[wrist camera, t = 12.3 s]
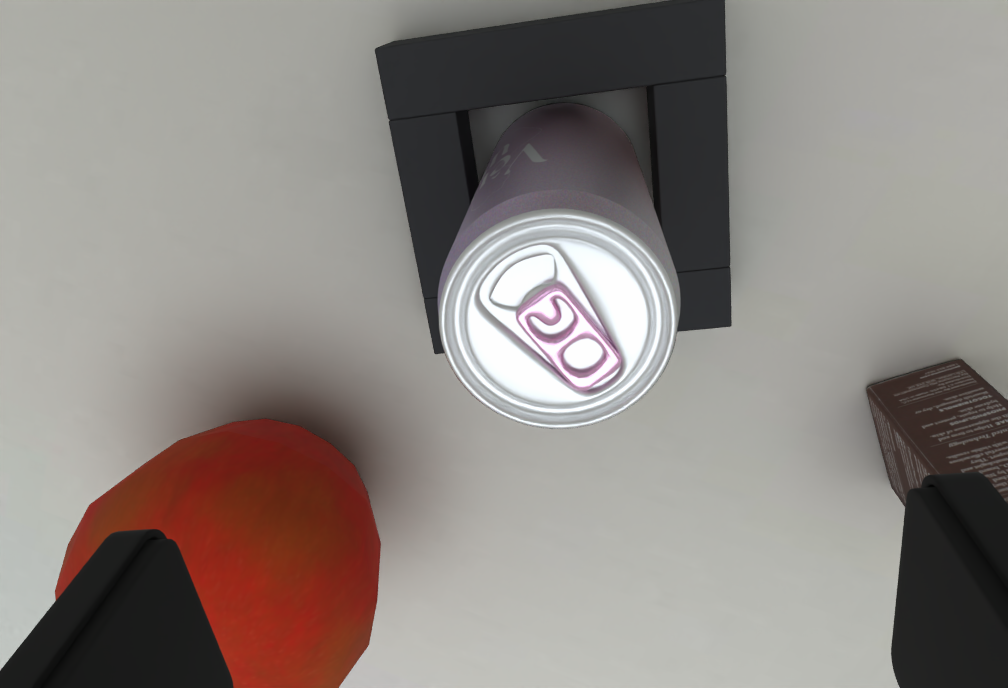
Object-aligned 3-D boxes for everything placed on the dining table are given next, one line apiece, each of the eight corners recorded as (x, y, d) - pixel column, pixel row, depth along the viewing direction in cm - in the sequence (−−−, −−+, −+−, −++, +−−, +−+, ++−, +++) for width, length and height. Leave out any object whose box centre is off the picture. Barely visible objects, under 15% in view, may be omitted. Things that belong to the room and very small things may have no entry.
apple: (428, 388, 37) (351, 609, 24) (402, 581, 42) (327, 847, 29) (168, 341, 37) (-47, 537, 24) (175, 540, 42) (1, 788, 29)
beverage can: (550, 273, 34) (535, 476, 20) (460, 164, 32) (377, 306, 18) (666, 188, 32) (737, 350, 18) (577, 67, 30) (582, 146, 16)
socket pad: (391, 41, 30) (373, 48, 27) (710, -6, 28) (725, -4, 26) (445, 325, 35) (434, 354, 32) (718, 298, 33) (731, 327, 31)
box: (990, 460, 36) (1173, 671, 25) (888, 486, 37) (1021, 701, 26) (969, 348, 34) (1159, 528, 23) (861, 380, 35) (994, 566, 24)
